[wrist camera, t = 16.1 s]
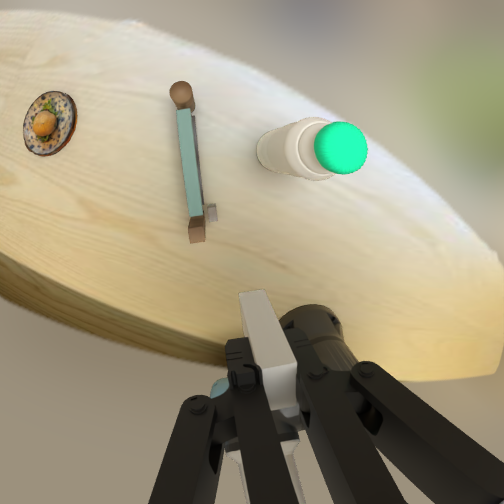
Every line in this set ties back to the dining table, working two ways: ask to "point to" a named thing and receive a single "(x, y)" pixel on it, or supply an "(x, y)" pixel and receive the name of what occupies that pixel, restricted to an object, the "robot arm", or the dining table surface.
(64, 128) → the burger
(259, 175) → the dining table surface
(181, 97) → the gate frame
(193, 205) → the gate
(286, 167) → the water bottle
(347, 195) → the dining table surface
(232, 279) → the dining table surface
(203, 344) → the dining table surface
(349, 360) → the robot arm
